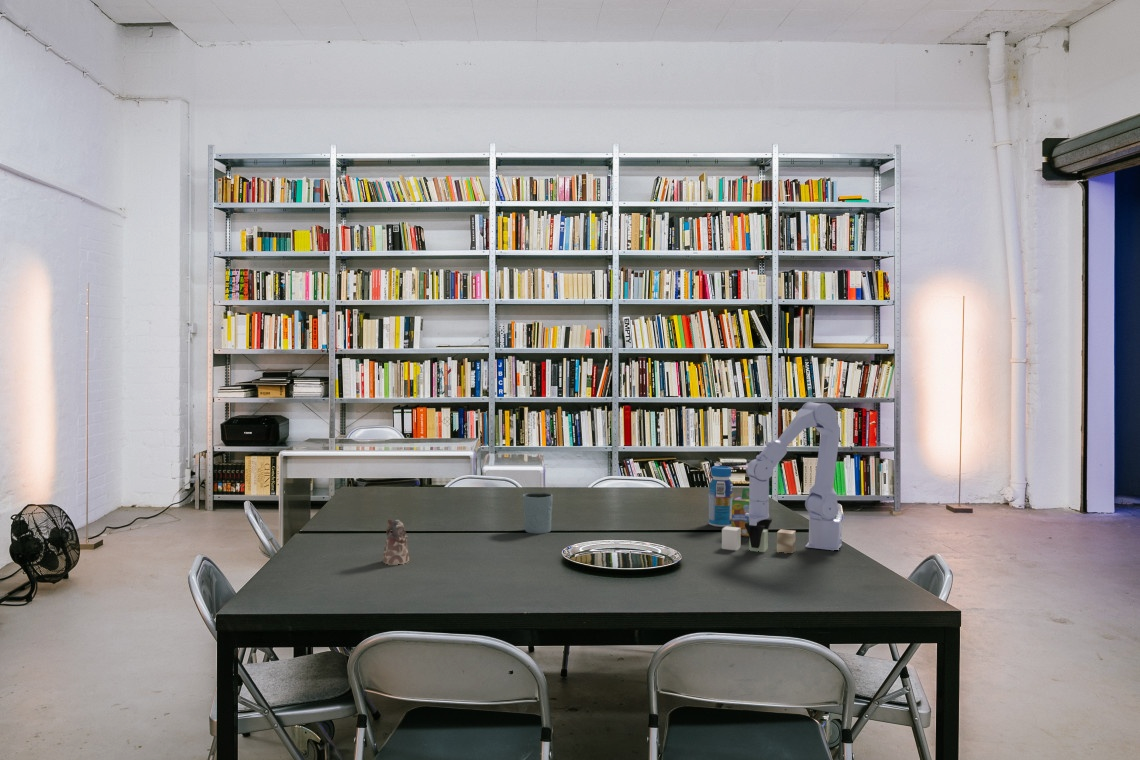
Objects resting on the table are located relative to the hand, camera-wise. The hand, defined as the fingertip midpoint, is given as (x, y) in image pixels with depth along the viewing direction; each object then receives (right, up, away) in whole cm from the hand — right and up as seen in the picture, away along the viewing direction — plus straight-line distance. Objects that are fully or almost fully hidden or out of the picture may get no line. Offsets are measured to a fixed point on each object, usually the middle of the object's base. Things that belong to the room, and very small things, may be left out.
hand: (758, 544), depth 230 cm
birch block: (+8, -2, -2) cm, 8 cm away
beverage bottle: (-5, -1, +34) cm, 34 cm away
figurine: (-105, -2, -16) cm, 107 cm away
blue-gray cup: (-67, -1, +24) cm, 72 cm away
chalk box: (+2, -1, +21) cm, 21 cm away
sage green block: (0, -2, 0) cm, 2 cm away
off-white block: (-8, -1, +2) cm, 8 cm away
